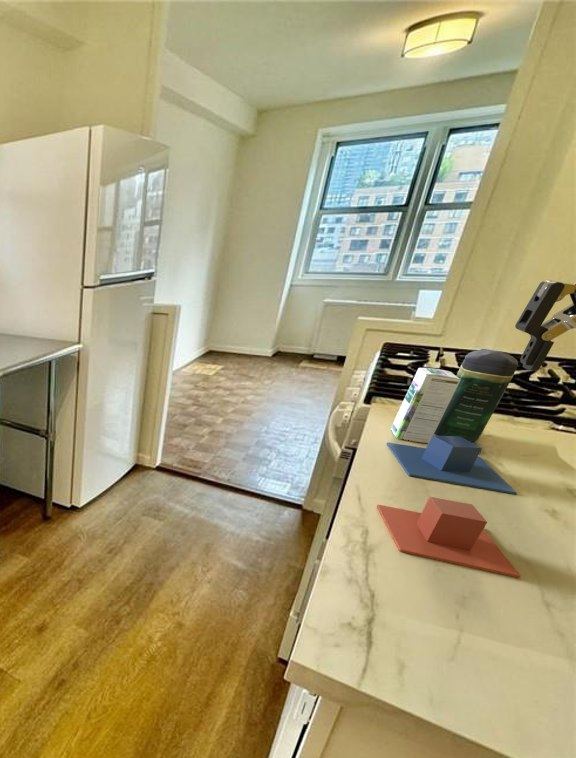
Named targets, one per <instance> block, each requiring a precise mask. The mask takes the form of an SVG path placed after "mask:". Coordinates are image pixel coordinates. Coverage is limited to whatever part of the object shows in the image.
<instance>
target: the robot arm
mask: <svg viewBox="0 0 576 758" xmlns="http://www.w3.org/2000/svg"><path fill="white" fill-rule="evenodd" d="M568 295H569V297H570V299H571V302H572V303H571V304H570V305H568V306H566V307H565V308H563V309H561V310H559V311H557V312H556V313H554V314H552V316H551V317H550V319H548V320H546V318H547V317H548V315H549V314H550V312H551V310H552V309H553V307H554V306H555V304H556V303H558V302H560V301H562V300H563V299H564V298H565V297H566V296H568ZM545 320H546V321H545ZM514 328H515V329H516V330H518V331H521V332H523V333H525V334H527V335H529V340H528V342H527V345H526V346H525V349H524V350H523V352H522V354H521V356H520V363H521V364H522V368H524V369H526V370H527V371H532V372H538V371H540V369H541V367H542V365H543V363H544V362H545V360H546V358H547V356H548V355H549V353H550V351H551V349H552V347H553V346H554V344H555V341H553V340H554V339H556V338H558V337H560V336H561V335H563V334H565V333H566V332H569V331H570V330H574V329H576V282H575V283H566V282H560V281H556V280H552V279H545V280H542V281H541V282H540V283H539V284H538V286H537V287H536V289H535V290H534V292H533V294H532V296H531V298H530V299H529V301H528V303H527V305H526V306H525V308H524V310H523V311H522V313H521V315H520V316H519V318H518V320H517V321H516V323H515V325H514Z"/></svg>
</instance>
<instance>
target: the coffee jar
mask: <svg viewBox="0 0 576 758" xmlns="http://www.w3.org/2000/svg"><path fill="white" fill-rule="evenodd" d="M518 366H519V362H518V360H517V359H516V358H515V357H514V356H512V355H511V354H509V353H508V351H502V350H495V349H489V348H488V349H487V348H481V349H478V350H473V351H471V352H468V353H467V354H466V355H465V357H464V359H463V361H462V363H461V365H460V367H459V370H458V371H457V374H456V375H455V376H457V377H458V378H460V379H461V380H460V382H459V384H458V386H457V388H456V390H455V392H454V394H453V397H452V399H451V401H450V403H449V404H448V406H447V408H446V410H445V412H444V415H443V417H442V418H441V420H440V423H439V425H438V427H437V429H436V430H435V433H434V434H433V435H434V436H460V437H462V438H464V439H466V440H468V441H470V442H472V443H474V444H475V443H476V442H478V440H479V439H480V437H481V435H482V434H483V432H484V430H485V429H486V427H487V425H488V423H489V421H490V419H491V417H492V416H493V414H494V412H495V410H496V409H497V407H498V406H499V404H500V402H501V400H502V398H503V397H504V395H505V393H506V390H507V388H508V387H509V384H510V383H511V381H512V378H513V377H514V375H515V372H516V371H517V368H518Z"/></svg>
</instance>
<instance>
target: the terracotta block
mask: <svg viewBox="0 0 576 758" xmlns="http://www.w3.org/2000/svg"><path fill="white" fill-rule="evenodd" d="M420 513H421V515H420V517H419V519H418V521H417V523H416V524H417V526H418V528H419V529H420V531H421V533H422V534H423V536H424V537H425V539H426V541H427V542H431V543H436V544H441V545H446V546H450V547H455V548H460V549H464V550H469V551H471V549H472V547H473V546H474V544H475V542H476V541H477V539H478V537H479V536H480V534H481V532H482V531H483V529H485V527H486V525H487V524H488V521H487V520H486V519H485V518H484V517H483V515H482V514H481V513H480V512H479V510H478V509H477V508H476V507H475V506H474V504H472V503H467V502H462V501H458V500H457V501H455V500H451V499H446V498H441V497H434V496H429V498H428V499H427V501H426V503H425V505H424V507H423V509H422V511H421V512H420Z"/></svg>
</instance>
